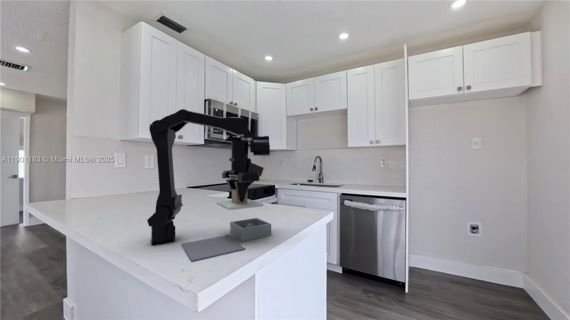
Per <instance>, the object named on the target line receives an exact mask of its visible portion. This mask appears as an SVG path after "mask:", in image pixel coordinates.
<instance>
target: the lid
mask: <svg viewBox="0 0 570 320" xmlns="http://www.w3.org/2000/svg"><path fill="white" fill-rule="evenodd" d="M216 205H218V206H220V207H221V208H223V209H226V210H228V211H232V210H235V211H236V210H242V209H243V210H244V209H249V208H250V209H251V208H260V207H264V203H262V202H259V201H255V200H252V199H249V198H248V191H247V192H246V195H245V199H244V201H243V202H240V199H239V196H238V193H237V189H232V191H231V200H221V201H216Z"/></svg>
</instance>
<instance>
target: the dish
mask: <svg viewBox="0 0 570 320" xmlns="http://www.w3.org/2000/svg"><path fill="white" fill-rule="evenodd" d="M249 223H252V224H253V225H254V226H253V227H247V228H246V226H247V225H248V224H249ZM229 224H230V225H229V227H230V228H229V229H230V230H229V231H230V232H229V233H230V234H231V235H232V236H234V237H235V238H237V239H238V240H239V241H241V242H246V241H251V240H256V239H260V238H265V237H270V236H272V223H270V222H267V221H265V220H263V219H261V218H259V217H252V218H247V219H241V220H234V221H230V223H229Z"/></svg>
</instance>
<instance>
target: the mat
mask: <svg viewBox="0 0 570 320" xmlns="http://www.w3.org/2000/svg"><path fill="white" fill-rule="evenodd" d="M180 244H181V245H180V246H181V247H182V248H183V250H184V252H185V254H186V256H187V257H188V259H189V260H190V262H191V263H194V262H197V261H198V262H199V261H202V260H207V259H211V258H214V257H218V256H224V255H228V254H231V253H232V254H233V253H236V252H240V251H244V250H246V247H244V246H243V245H242V244H240V243H239V242H238V241H236V240H235V239H234V238H232V237H231V236H230V235H229V234H225V235H220V236H215V237H210V238H205V239H198V240H193V241H188V242H182V243H180Z"/></svg>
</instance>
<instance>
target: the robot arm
mask: <svg viewBox="0 0 570 320" xmlns="http://www.w3.org/2000/svg"><path fill="white" fill-rule="evenodd" d="M188 124H194V125H199V126H203V127H208V128H214V129H218V130H222V131H225V132H228V133H229V134H230V135H229V136H228V137H227V138H226V139H225V142H226V143H231V146H230V147H231V148H230V149H231V150H230V151H231V155H230V156H231V157H229V158H228V159H229V160H228V162H230V166H231V167H230V169H229V170H224V171H222V173H221V178H222V179H225V181H226V183H227V185H228V187H229V189H230V191H231V192H232V189H237V193H238V196H239V199H240V202H243V201H244V199H245V195H246V192H247V193H248V189H249V186H251V185H252V184H253V183H254V182H260V180H261V179H260V177H262V175H263V171H264V169H265V167H262V166H260V165H258V164H256V163H253V162H252V159H251V158H249V152H250V153H252V154H253V156H259V157H260V156H268V157H269V156H270V154H271V145H270V136H269V135H262V136H259V135H256V136H255V135H254V134H253V133H252V132H251V131H250V127H249V123H248V122H247V120H246V119H245V118H243V117H236V116H235V117H234V116H228V117H220V116H216V115H211V114H207V113H202V112H196V111H191V110H188V109H186V108H182V109H179V110H177V111H176V112H174V113H171V114H169V115H167V116H164V117H162V118H161V119H156V120H153V122H151V123H150V125H149V128H148V129H149V134H150V137H151V141H152V142H153V144H154V146H155V148H156V149H155V150H156V161H157V171H158V188H159V190H158V191H159V193H158V195H157V198H156V199H157V200H156V203H155V210H154V211H155V212H153V214H152V215H151V216H150V217H148V219H147V220H146V222H147V223H148V227H150V229H151V232H150V234H151V235H150V244H151V246H152V247H154V246H161V245H164V244H165V245H166V244H170V243H174V242H176V241H175V240H176V226H175V224H174V220H175V219H176V215H178V214H179V213H180V212H181V210H182V207H183V206H184V205H183V202H182V198H183V195H182V194H178V193H177V192H176V188H175V171H174V161H173V160H174V159H173V146H174V144H175V139H176V133H178V132H179V131H181V130H183V128H184V127H185V126H186V125H188ZM233 135H235V137H234V136H233ZM242 137H243V138H245V139H243V138H242ZM249 143H250V144H249ZM249 145H250V146H249Z"/></svg>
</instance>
